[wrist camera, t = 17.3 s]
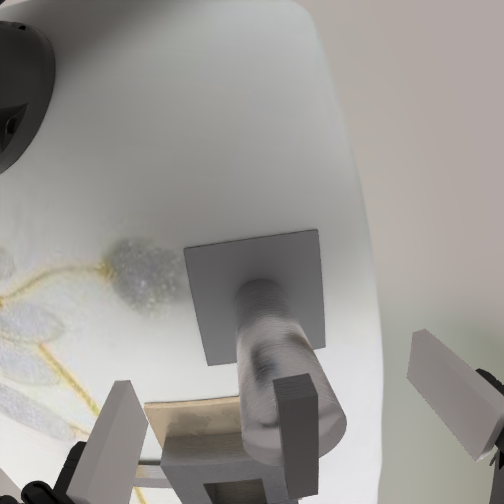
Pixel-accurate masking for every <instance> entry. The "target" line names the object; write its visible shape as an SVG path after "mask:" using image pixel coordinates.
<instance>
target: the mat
mask: <svg viewBox="0 0 504 504" xmlns="http://www.w3.org/2000/svg"><path fill="white" fill-rule="evenodd" d="M184 256H185V261H186V267H187V272H188V277H189V282H190V287H191V292H192V297H193V302H194V307H195V311H196V316H197V321H198V325H199V330H200V334H201V339H202V343H203V347H204V352H205V356H206V360H207V364H208V366H213V365H222V364H230V363H237V350H236V331H235V312H234V300H235V296H236V294H237V292H238V290H239V289H240V288H241V286H243V285H244V284H245V283H247V282H249V281H251V280H254V279H260V278H261V279H268V280H271V281H274V282H275V283H277V284H278V285H279V286H280V287H281V288H282V290H283V291H284V293H285V295H286V297H287V299H288V301H289V303H290V305H291V307H292V309H293V311H294V313H295V315H296V317H297V319H298V321H299V323H300V325H301V327H302V329H303V331H304V333H305V335H306V337H307V339H308V341H309V343H310V345H311V347H312V349H313V350H315V349H320V348H325V347H326V345H325V321H324V302H323V286H322V271H321V259H320V247H319V235H318V230H317V229H316V230H309V231H302V232H295V233H288V234H281V235H274V236H267V237H260V238H253V239H246V240H239V241H232V242H225V243H218V244H212V245H205V246H198V247H192V248H185V249H184Z"/></svg>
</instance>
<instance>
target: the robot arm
mask: <svg viewBox="0 0 504 504" xmlns="http://www.w3.org/2000/svg"><path fill="white" fill-rule="evenodd" d="M4 1H5V0H0V5H1V4H2V3H3V2H4ZM54 74H55V60H54V54H53V50H52V47H51V45H50V43H49V41H48V40H47V38H46V37H45V36H44V35H42V34H41V33H40V32H38V31H37V30H35V29H34V28H33V27H31V26H29V25H27V24H24V23H17V22H12V23H11V22H6V21H0V173H2V172H3V171H5V170H6V169H7V168H9V167H10V166H11V165H12V164H13V163H14V162H15V161H16V160H17V159H18V158H19V157H20V155H21V154H22V153H23V152H24V150H25V149H26V148H27V146H28V145H29V143H30V142H31V140H32V138H33V137H34V135H35V133H36V131H37V129H38V128H39V126H40V123H41V121H42V119H43V117H44V114H45V112H46V109H47V106H48V103H49V100H50V96H51V92H52V88H53V83H54ZM407 379H408V380H409V381H410V382H411V383H412V385H413V386H414V387H415V388H416V389H417V391H418V392H419V393H420V394H421V395H422V397H423V398H424V399H425V400H426V401H427V403H428V404H429V405H430V406H431V407H432V409H433V410H434V411H435V412H436V413H437V415H438V416H439V417H440V418H441V419H442V421H443V422H444V423H445V424H446V426H447V427H448V428H449V429H450V431H451V432H452V433H453V434H454V436H455V437H456V438H457V439H458V441H459V442H460V443H461V444H462V446H464V448H465V449H466V451H467V452H468V453H469V454H470V456H471V457H472V458H473V459H474V461H475V462H477V461H479V460H481V459H482V458H484V457H486V456H487V455H488V454H490V452H491V450H492V448H493V447H494V445H496V446H497V447H498V450H497V452H496V453H495V455H494V457H493V459H492V460H491V462H490V466H491V465H492V464H493V462H494V461H495V470H494V478H493V485H492V492H491V498H490V503H489V504H504V385H502V383H501V382H500V381H498V380H496V378H495V377H494V376H493V375H492V374H490V373H489V372H487V371H485V370H482V369H477V370H474V369H473V368H471V367H470V366H469V365H468V364H467V363H466V362H465V361H463V360H462V359H461V358H460V357H459V356H458V355H456V354H455V353H454V352H453V351H452V350H451V349H449V348H448V347H447V346H446V345H445V344H443V343H442V342H441V341H440V340H439V339H437V338H436V337H435V336H434V335H433V334H431V333H430V332H429V331H428V330H426V329H423V330H420V331H417V332H413V336H412V344H411V352H410V360H409V367H408V373H407ZM147 427H148V421H147V419H146V417H145V414H144V412H143V410H142V408H141V405H140V403H139V401H138V398H137V396H136V394H135V391H134V389H133V386H132V384H131V381H130V380H126V381H115V382H114V385H113V387H112V389H111V391H110V393H109V395H108V397H107V399H106V401H105V404H104V406H103V408H102V410H101V412H100V414H99V417H98V419H97V421H96V423H95V425H94V428H93V430H92V432H91V434H90V437H89V439H88V441H87V442H82V441H79V442H78V443H77V444H76V445H75V446H74V447H73V448H72V449H71V450H70V452H69V454H68V457H67V460H66V461H65V463H64V465H63V466H64V468H62V470H61V472H60V474H59V477H58V479H57V481H56V484H55V486H54V488H53V489H52V488H51V487H50V486H49V485H48V484H47V483H45V482H43V481H32V482H30V483H28V484H27V485H26V486H25V487H24V488H23V489H22V492H21V499H22V500H23V502H24V503H19V502H18V501H17V500H16V499H15V498H13V497H12V496H9V495H4V496H0V504H129V501H130V497H131V492H132V488H133V484H134V479H135V475H136V471H137V467H138V463H139V458H140V454H141V450H142V446H143V442H144V439H145V435H146V431H147ZM495 459H496V460H495Z"/></svg>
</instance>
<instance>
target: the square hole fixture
mask: <svg viewBox="0 0 504 504" xmlns="http://www.w3.org/2000/svg"><path fill="white" fill-rule="evenodd" d="M144 411H145V413H146V416H147V418H148V420H149V422H150V425H151V427H152V429H153V431H154V433H155V435H156V438H157V440H158V442H159V444H160V446H161V448H162V450H163V452H162V457H161V462H160V466H152V465H138V467H137V471H136V475H135V479H134V484H133V486H135V487H150V488H173V489H174V491H175V493H176V494H177V496H178V497H179V499H180V501H181V502H182V504H298V500H300V499H302V498H297V499H292V500H289V496H288V491H287V486H286V481H285V474H284V467H278V466H271V465H267V464H263V463H261V462H258V461H256V460H255V459H253V458H252V457H251V456H249V454H248V453H247V452H246V451H245V449H244V446H243V442H242V430H241V415H240V400H239V396H236V397H228V398H219V399H209V400H198V401H185V402H169V403H145V406H144Z"/></svg>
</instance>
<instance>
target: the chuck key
mask: <svg viewBox="0 0 504 504" xmlns="http://www.w3.org/2000/svg"><path fill="white" fill-rule="evenodd" d="M234 312H235V331H236V350H237V367H238V384H239V400H240V415H241V430H242V442H243V446H244V449H245V451H246V452H247V453H248V454H249V456H251V457H252V458H253V459H255V460H256V461H258V462H261V463H263V464H267V465H271V466H278V467H284V474H285V481H286V486H287V491H288V496H289V500H292V499H297V498H302V497H307V496H312V495H317V494H318V473H319V458H320V457H322V456H324V455H325V454H327V453H328V452H329V451H331V450H332V449H333V448H334V447H335V446H336V445H337V444H338V443H339V442H340V440H341V439H342V437H343V435H344V433H345V431H346V426H347V420H346V416H345V414H344V412H343V410H342V408H341V406H340V404H339V402H338V400H337V397H336V395H335V393H334V391H333V389H332V387H331V385H330V383H329V381H328V379H327V377H326V375H325V373H324V371H323V369H322V367H321V365H320V363H319V361H318V359H317V357H316V355H315V353H314V351H313V349H312V347H311V345H310V343H309V341H308V339H307V337H306V335H305V333H304V331H303V329H302V327H301V325H300V323H299V321H298V319H297V317H296V315H295V313H294V311H293V309H292V307H291V305H290V303H289V301H288V299H287V297H286V295H285V293H284V291H283V290H282V288H281V287H280V286H279V285H278V284H277V283H275V282H274V281H271V280H268V279H261V278H260V279H254V280H251V281H249V282H247V283H245V284H244V285H243V286H241V288H240V289H239V290H238V292H237V294H236V296H235V300H234Z"/></svg>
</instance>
